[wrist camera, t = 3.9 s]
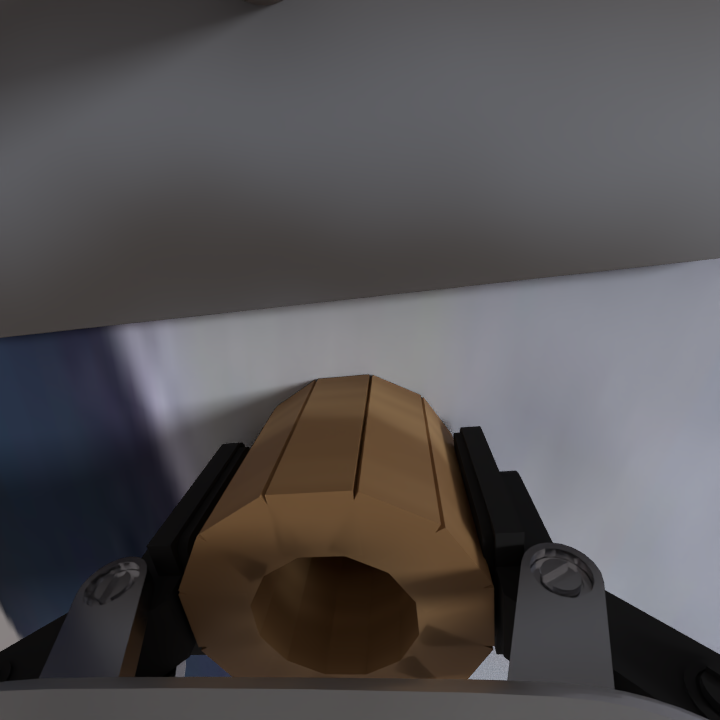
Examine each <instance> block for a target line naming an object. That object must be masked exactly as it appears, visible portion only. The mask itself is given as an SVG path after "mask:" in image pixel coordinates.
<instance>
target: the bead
mask: <svg viewBox="0 0 720 720" xmlns="http://www.w3.org/2000/svg"><path fill="white" fill-rule="evenodd" d="M178 591H180V592H179V594H178V595H179V598H180V600H181V603H182V606H183V608H184V611H185V613H186V616H187V618H188V621H189V624H190V626H191V629H192V631H193V634H194V636H195V639H196V642H197V644H198V647H202V649H201V651H202V652H204V653H205V654H206V655H207V656H208V657H210V658H211V659H212V660H213V661H214V662H216V663H217V664H218V665H219V666H220V667H222V668H223V669H224V670H225V671H226V672H227V673H229V674H230V675H231V676H232V677H303V678H405V679H468V678H469V677H470V676H471V675H472V674H473V672H474V671H475V670H476V669H477V668H478V667H479V665H480V664H481V663H482V662H483V661H484V660H485V658H486V657H487V656H488V655H489V654H490V653H491V651H492V650H493V646H495V636H494V586H493V583H492V579H491V575H490V572H489V568H488V564H487V562H486V559H485V558H484V557H483V554H482V550H481V546H480V543H479V539H478V535H477V531H476V528H475V524H474V520H473V516H472V512H471V509H470V505H469V501H468V497H467V494H466V490H465V486H464V482H463V479H462V475H461V471H460V467H459V464H458V460H457V456H456V452H455V448H454V440H453V437H452V434H451V433H450V432H449V430H448V429H447V428H446V426H445V425H444V424H443V422H442V421H441V420H440V418H439V417H438V416H437V414H436V413H435V412H434V411H433V409H432V408H431V407H430V405H429V404H428V403H427V401H426V400H425V399H424V397H423V398H421V395H419V394H417V393H414V392H412V391H410V390H407V389H405V388H402V387H400V386H398V385H395V384H393V383H391V382H388V381H386V380H383V379H381V378H379V377H376V376H374V375H373V376H372V378H371V380H370V377H369V375H357V376H346V377H334V378H323V379H318V380H317V382H316V381H315V380H314V381H313V382H311V383H310V384H308V385H307V386H305V387H304V388H303V389H301V390H300V391H298V392H297V393H295V394H294V395H293V396H291V397H290V398H288V399H287V400H285V401H284V402H282V403H281V404H280V405H278V406H277V407H276V408H275V409H274V411H273V413H272V414H271V416H270V418H269V419H268V421H267V423H266V424H265V426H264V427H263V429H262V431H261V432H260V434H259V436H258V437H257V439H256V441H255V442H254V444H253V446H252V447H251V449H250V450H249V452H248V454H247V455H246V457H245V459H244V460H243V462H242V464H241V465H240V467H239V468H238V470H237V472H236V473H235V475H234V477H233V478H232V480H231V482H230V483H229V485H228V487H227V488H226V490H225V491H224V493H223V495H222V496H221V498H220V500H219V501H218V503H217V505H216V506H215V508H214V510H213V511H212V513H211V514H210V516H209V518H208V519H207V521H206V523H205V524H204V526H203V528H202V529H201V531H200V532H199V534H198V536H197V537H196V540H195V543H194V546H193V549H192V552H191V555H190V558H189V561H188V564H187V566H186V569H185V572H184V575H183V578H182V581H181V584H180V587H179V590H178Z"/></svg>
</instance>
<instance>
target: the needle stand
mask: <svg viewBox="0 0 720 720" xmlns="http://www.w3.org/2000/svg"><path fill="white" fill-rule="evenodd" d="M716 258H720V0H0V338H2V337H11V336H20V335H29V334H38V333H47V332H56V331H65V330H74V329H83V328H92V327H101V326H110V325H119V324H128V323H137V322H146V321H155V320H164V319H174V318H183V317H192V316H201V315H210V314H219V313H228V312H237V311H246V310H255V309H264V308H273V307H282V306H291V305H300V304H309V303H318V302H327V301H336V300H345V299H354V298H364V297H373V296H382V295H391V294H400V293H409V292H418V291H427V290H436V289H445V288H454V287H463V286H472V285H481V284H490V283H499V282H508V281H517V280H526V279H535V278H545V277H554V276H563V275H572V274H581V273H590V272H599V271H608V270H617V269H626V268H635V267H644V266H653V265H662V264H671V263H680V262H689V261H698V260H707V259H716Z"/></svg>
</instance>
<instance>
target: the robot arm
mask: <svg viewBox="0 0 720 720" xmlns="http://www.w3.org/2000/svg"><path fill="white" fill-rule="evenodd" d="M453 437H454V448H455V452H456V456H457V460H458V464H459V467H460V471H461V475H462V479H463V482H464V486H465V490H466V494H467V497H468V501H469V505H470V509H471V512H472V516H473V520H474V524H475V528H476V531H477V535H478V539H479V543H480V546H481V550H482V554H483V557H484V558H485V559H486V562H487V564H488V568H489V572H490V575H491V579H492V583H493V586H494V636H495V649H496V654H503V655H504V657H505V658H506V659H508V660H509V661H510V663H509V671H508V680H507V681H505V680H473V679H405V678H303V677H184V675H185V666H186V664H185V660H186V659H187V658H189V657H190V655H206V654H205V653H204V652H202V651H201V649H202V647H198V644H197V642H196V639H195V636H194V634H193V631H192V629H191V626H190V624H189V621H188V618H187V616H186V613H185V611H184V608H183V606H182V603H181V600H180V598H179V595H178V594H179V592H180V591H178V590H179V587H180V584H181V581H182V578H183V575H184V572H185V569H186V566H187V564H188V561H189V558H190V555H191V552H192V549H193V546H194V543H195V540H196V537H197V536H198V534H199V532H200V531H201V529H202V528H203V526H204V524H205V523H206V521H207V519H208V518H209V516H210V514H211V513H212V511H213V510H214V508H215V506H216V505H217V503H218V501H219V500H220V498H221V496H222V495H223V493H224V491H225V490H226V488H227V487H228V485H229V483H230V482H231V480H232V478H233V477H234V475H235V473H236V472H237V470H238V468H239V467H240V465H241V464H242V462H243V460H244V459H245V457H246V455H247V454H248V452H249V450H250V448H249V447H245V445H244V444H243V443H229V444H223V445H222V446H221V447H220V448H219V450H218V451H217V452H216V454H215V455H214V456H213V458H212V459H211V460H210V462H209V463H208V464H207V466H206V467H205V468H204V470H203V471H202V472H201V474H200V475H199V476H198V478H197V479H196V481H195V482H194V483H193V485H192V486H191V487H190V489H189V490H188V491H187V493H186V494H185V495H184V497H183V498H182V499H181V501H180V502H179V503H178V505H177V506H176V507H175V509H174V510H173V511H172V513H171V514H170V516H169V517H168V518H167V520H166V521H165V522H164V524H163V525H162V526H161V528H160V529H159V530H158V532H157V533H156V534H155V536H154V537H153V538H152V540H151V541H150V542H149V544H148V545H147V548H148V550H147V551H146V552H145V554H144V555H143V557H142V558H139V557H126V558H121V559H119V560H116V561H113V562H111V563H109V564H107V565H106V566H104V567H102V568H100V569H99V570H98V571H96V572H95V573H94V574H93V575H91V576H90V577H89V578H88V579H87V580H86V581H85V582H84V584H83V585H82V586H81V588H80V589H79V591H78V592H77V594H76V596H75V599H74V601H73V603H72V605H71V607H70V610H69V612H68V613H67V614H65V615H63V616H61V617H60V618H58V619H56V620H54V621H53V622H51V623H49V624H47V625H46V626H44V627H42V628H41V629H39V630H37V631H35V632H34V633H32V634H30V635H28V636H27V637H25V638H23V639H21V640H20V641H18V642H16V643H15V644H13V645H11V646H10V647H8V648H6V649H4V650H3V651H1V652H0V720H720V654H718V653H716V652H714V651H713V650H711V649H709V648H707V647H706V646H704V645H702V644H700V643H698V642H697V641H695V640H693V639H691V638H689V637H688V636H686V635H684V634H682V633H681V632H679V631H677V630H675V629H673V628H672V627H670V626H668V625H666V624H664V623H663V622H661V621H659V620H657V619H656V618H654V617H652V616H650V615H648V614H647V613H645V612H643V611H641V610H640V609H638V608H636V607H634V606H632V605H631V604H629V603H627V602H625V601H623V600H622V599H620V598H618V597H616V596H615V595H613V594H611V593H609V592H607V591H606V590H605V588H604V581H603V578H602V574H601V572H600V570H599V569H598V567H597V566H596V565H595V563H594V562H593V561H592V560H591V559H589V558H588V557H587V556H586V555H585V554H583V553H581V552H580V551H578V550H576V549H574V548H572V547H569V546H566V545H563V544H558V543H553V542H552V540H551V538H550V536H549V534H548V532H547V530H546V528H545V526H544V524H543V522H542V520H541V518H540V516H539V514H538V512H537V510H536V508H535V506H534V504H533V501H532V499H531V497H530V495H529V493H528V491H527V489H526V487H525V485H524V483H523V481H522V479H521V477H520V475H519V473H518V472H517V471H502V472H499V470H498V467H497V465H496V462H495V460H494V458H493V455H492V453H491V450H490V448H489V446H488V443H487V441H486V438H485V436H484V434H483V431H482V429H481V427H480V426H476V427H461V428H460V433H454V435H453Z"/></svg>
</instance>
